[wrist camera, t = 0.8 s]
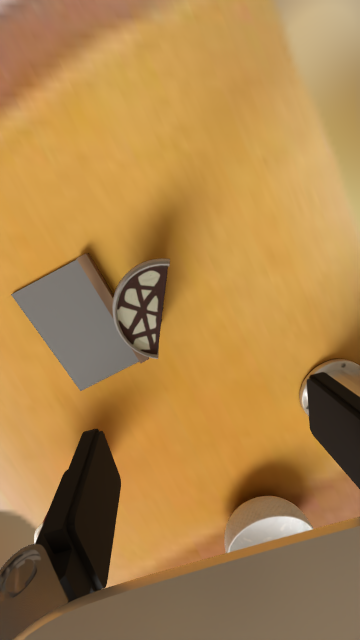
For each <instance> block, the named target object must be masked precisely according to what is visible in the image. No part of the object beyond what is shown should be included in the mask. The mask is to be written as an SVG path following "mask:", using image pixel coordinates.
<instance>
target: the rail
mask: <svg viewBox="0 0 360 640" xmlns="http://www.w3.org/2000/svg"><path fill="white" fill-rule="evenodd" d="M76 259H77V260H78V262H79V264H80V265H81V267H82V269H83V270H84V272H85V273H86V275H87V277H88V278H89V280H90V282H91V283H92V285H93V286H94V288H95V290H96V291H97V293H98V295H99V296H100V298H101V300H102V301H103V303H104V304H105V306H106V308H107V309H108V311H109V313H110V314H111V316H112V318H113V309H112V304H113V297H114V295H113V293H112V292H111V290H110V288H109V287H108V285H107V283H106V282H105V280H104V278H103V276H102V275H101V273H100V271H99V270H98V268H97V266H96V265H95V263H94V261H93V260H92V258H91V256H90V255H89V253H86V254H84V255H82V256H80V257H78V258H76ZM113 319H114V318H113ZM131 349H132V348H131ZM132 350H133V349H132ZM133 352H134V353H135V355H136V357H137V358H138V360H139V362H140V363H142V362H144V361H146V360H148V359H149V357H147V356H144V355H142V354H140V353H138V352H136V351H135V350H133Z"/></svg>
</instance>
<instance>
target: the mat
mask: <svg viewBox="0 0 360 640" xmlns="http://www.w3.org/2000/svg"><path fill="white" fill-rule="evenodd" d="M11 295H12V296H13V298H14V299H15V301H16V302H17V303H18V305H19V306H20V308H21V309H22V310H23V312H24V313H25V315H26V316H27V317H28V319H29V320H30V321H31V323H32V324H33V326H34V327H35V328H36V330H37V331H38V333H39V334H40V335H41V337H42V338H43V339H44V341H45V342H46V344H47V345H48V346H49V348H50V349H51V351H52V352H53V353H54V355H55V356H56V358H57V359H58V360H59V362H60V363H61V364H62V366H63V367H64V369H65V370H66V371H67V373H68V374H69V376H70V377H71V378H72V380H73V381H74V383H75V384H76V385H77V387H78V388H79V389H80V391H82V390H84V389H86V388H88V387H90V386H92V385H94V384H96V383H97V382H99V381H101V380H103V379H105V378H107V377H109V376H111V375H113V374H115V373H117V372H119V371H121V370H123V369H125V368H127V367H129V366H131V365H133V364H135V363H137V362H139V360H138V358H137V357H136V355H135V353H134V352H133V350H132V349H131V347H130V346H129V345H127V344H126V343H125V341H124V340H123V339H122V338H121V336H120V334H119V333H118V331H117V329H116V326H115V323H114V319H113V318H112V316H111V314H110V313H109V311H108V309H107V308H106V306H105V304H104V303H103V301H102V300H101V298H100V296H99V295H98V293H97V291H96V290H95V288H94V286H93V285H92V283H91V282H90V280H89V278H88V277H87V275H86V273H85V272H84V270H83V269H82V267H81V265H80V264H79V262H78V260H75V261H73V262H71V263H69V264H67V265H66V266H64V267H62V268H60V269H58V270H56V271H54V272H52V273H51V274H49V275H47V276H45V277H43V278H41V279H39V280H38V281H36V282H34V283H32V284H30V285H28V286H26V287H24V288H23V289H21V290H19V291H17V292H15V293H13V294H11Z"/></svg>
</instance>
